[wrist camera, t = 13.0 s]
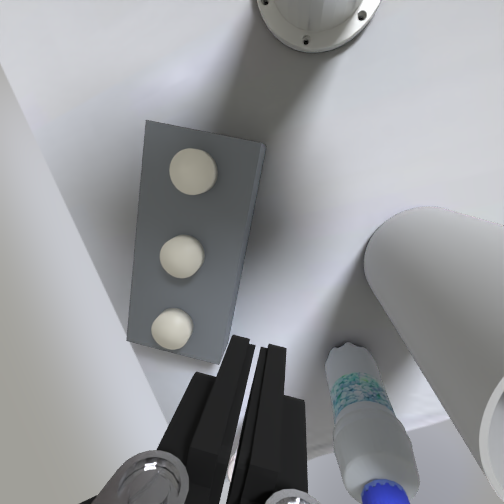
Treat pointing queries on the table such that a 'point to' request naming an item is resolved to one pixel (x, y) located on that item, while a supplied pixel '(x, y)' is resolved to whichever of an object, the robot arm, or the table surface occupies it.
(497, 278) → the cylinder vase
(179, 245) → the knob middle
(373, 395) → the bottle
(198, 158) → the knob
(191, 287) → the control panel
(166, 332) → the knob
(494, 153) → the table surface
